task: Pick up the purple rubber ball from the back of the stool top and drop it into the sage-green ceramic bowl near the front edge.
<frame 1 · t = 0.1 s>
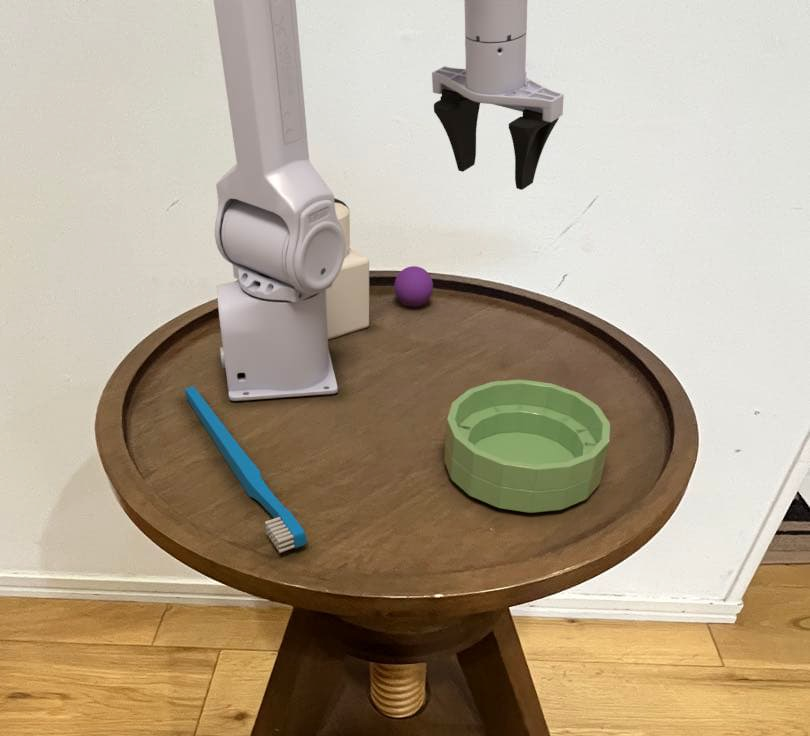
hand: (494, 176, 89), 10 cm above the table, tool pointing down, fingers open, 7 cm apart
bowl: (521, 468, 67), on the table
cylinder-topped cream block: (321, 325, 86), on the table
ball: (413, 286, 88), point 2 cm above the table
toothbrush: (248, 455, 66), point 1 cm above the table
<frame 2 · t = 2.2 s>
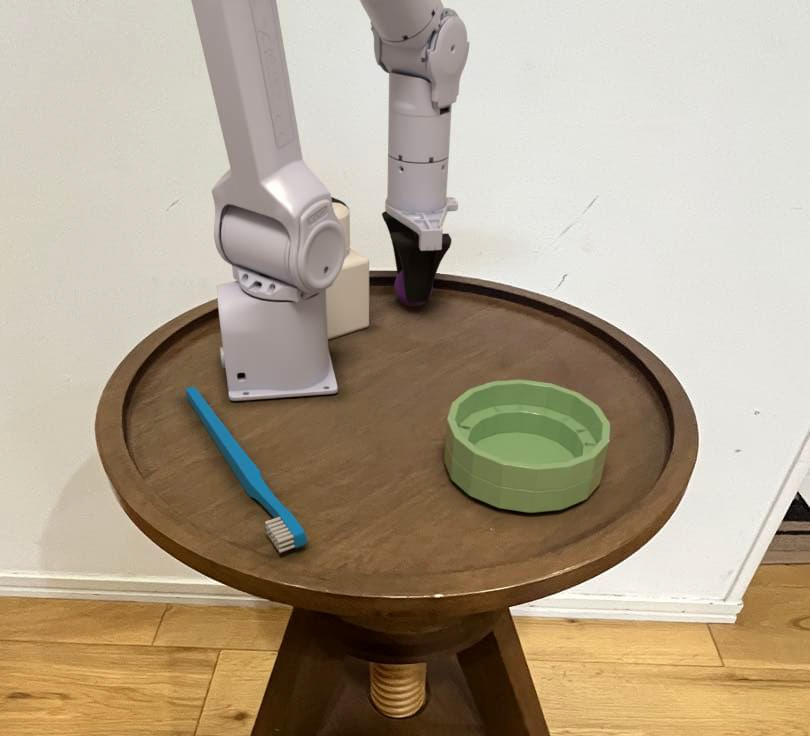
hand: (413, 291, 88), 1 cm above the table, tool pointing down, fingers closed on ball, 4 cm apart
ball: (413, 286, 88), point 2 cm above the table, touching gripper
everything else where it was.
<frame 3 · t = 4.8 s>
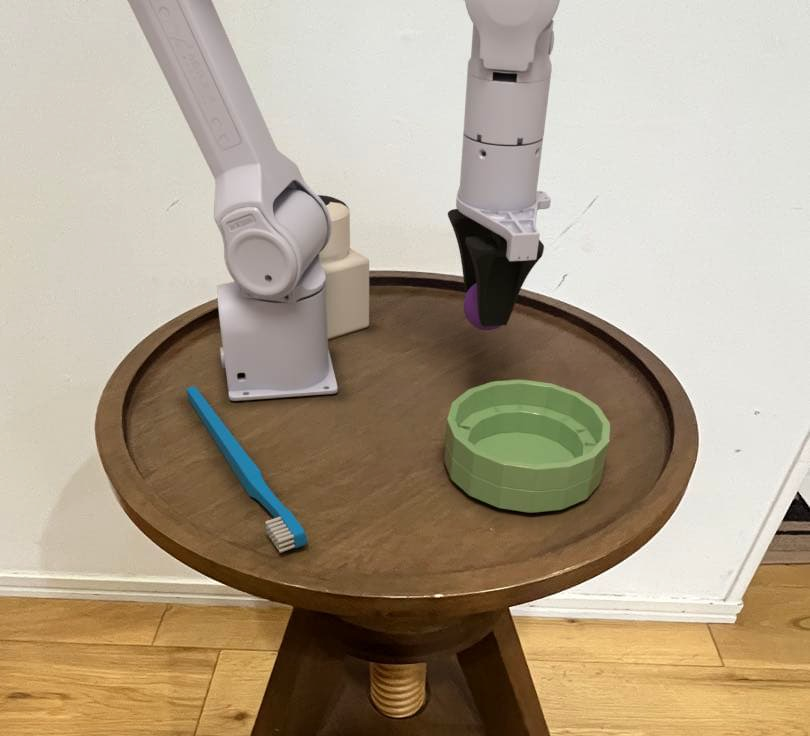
hand: (486, 312, 69), 8 cm above the table, tool pointing down, fingers closed on ball, 4 cm apart
ball: (488, 305, 69), point 9 cm above the table, touching gripper
everything else where it was.
when the fingers open (3 cm above the table, at t = 7.6 s): ball stays where it is, resting on bowl.
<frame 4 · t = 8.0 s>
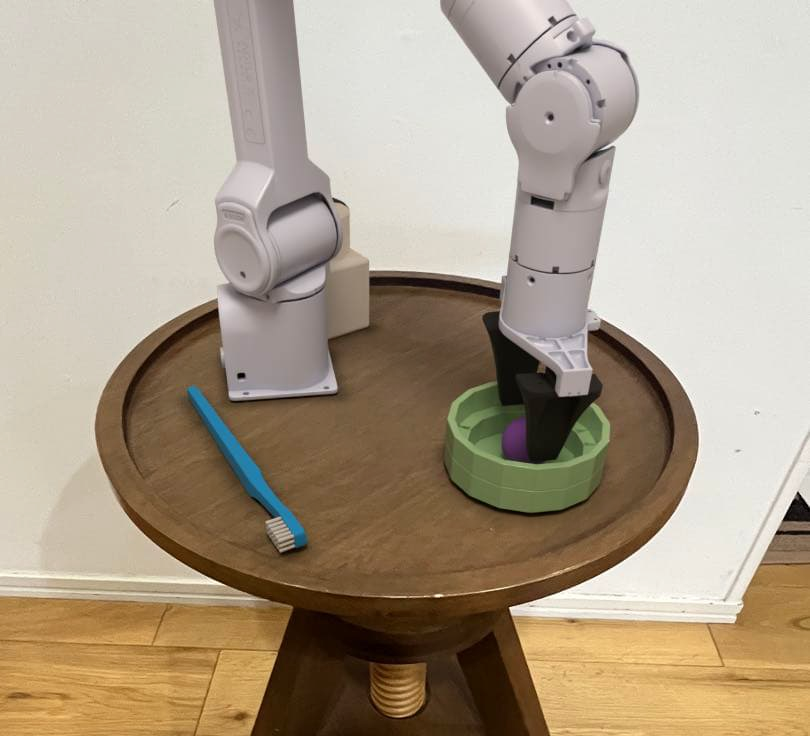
hand: (527, 429, 65), 4 cm above the table, tool pointing down, fingers open, 7 cm apart
ball: (527, 442, 66), point 2 cm above the table, touching bowl
everything else where it was.
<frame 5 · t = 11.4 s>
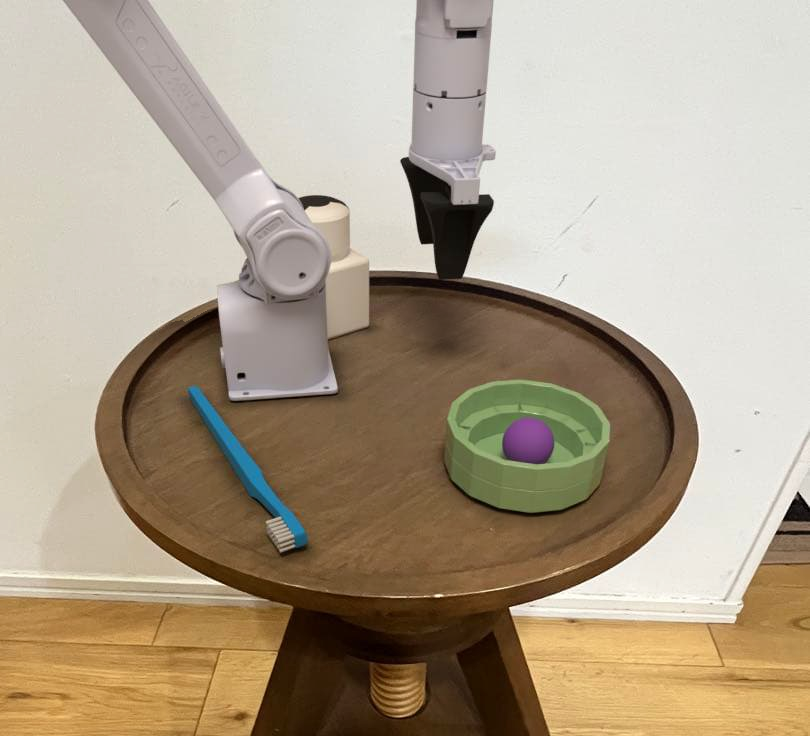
hand: (440, 259, 75), 9 cm above the table, tool pointing down, fingers open, 7 cm apart
nothing on the table moved.
at the end: ball inside the target area in the bowl (0.2 cm from its centre), point 2.5 cm above the bowl's base; the gripper is holding nothing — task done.
